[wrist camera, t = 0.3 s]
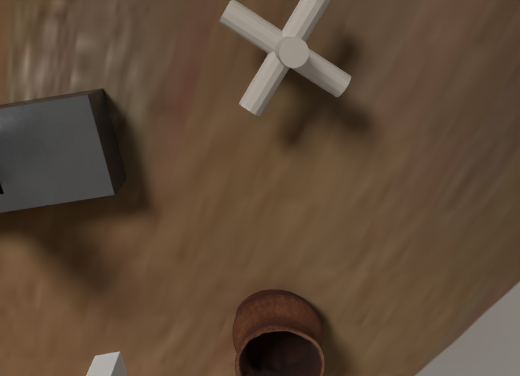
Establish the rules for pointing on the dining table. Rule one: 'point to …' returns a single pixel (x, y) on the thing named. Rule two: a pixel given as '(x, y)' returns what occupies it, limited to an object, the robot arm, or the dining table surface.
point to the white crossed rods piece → (283, 51)
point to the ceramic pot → (278, 336)
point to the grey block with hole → (57, 151)
